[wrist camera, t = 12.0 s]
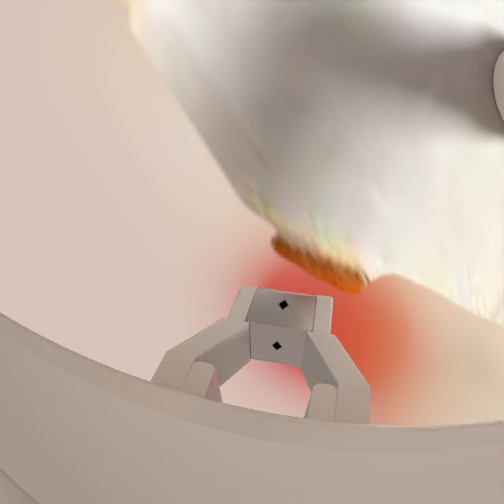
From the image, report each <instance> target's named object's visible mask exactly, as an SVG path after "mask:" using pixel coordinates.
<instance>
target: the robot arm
mask: <svg viewBox="0 0 504 504" xmlns="http://www.w3.org/2000/svg"><path fill="white" fill-rule="evenodd" d="M493 87H494V95H495V100H496V104H497V107H498V110H499V112H500V115H501V117H502V119H503V121H504V51H503V52H502V53H501V54H500V56H499V57H498V59H497V62H496V65H495V69H494V76H493ZM332 304H333V298H332V297H327V296H316V295H308V294H300V293H292V292H285V291H279V290H273V289H267V288H261V287H253V286H247V285H243V286H242V287H241V288H240V290H239V293H238V295H237V297H236V300H235V302H234V304H233V307H232V309H231V311H230V314H229V316H228V318H222V319H220V320H219V321H217V322H215V323H214V324H212V325H210V326H209V327H207V328H205V329H204V330H202V331H200V332H199V333H197V334H195V335H194V336H192V337H190V338H189V339H187V340H185V341H184V342H182V343H180V344H179V345H177V346H175V347H174V348H172V349H171V350H169V351H167V352H166V354H165V356H164V358H163V360H162V361H161V363H160V365H159V367H158V368H157V370H156V372H155V374H154V376H153V377H152V379H151V381H150V382H149V381H146V380H143V379H140V378H138V377H135V376H132V375H129V374H127V373H124V372H121V371H119V370H116V369H114V368H111V367H109V366H106V365H104V364H101V363H99V362H97V361H94V360H92V359H89V358H87V357H85V356H82V355H80V354H78V353H76V352H74V351H72V350H69V349H67V348H65V347H63V346H61V345H59V344H57V343H55V342H53V341H51V340H49V339H47V338H45V337H43V336H41V335H39V334H37V333H35V332H33V331H32V330H30V329H28V328H26V327H24V326H23V325H21V324H19V323H17V322H16V321H14V320H12V319H10V318H9V317H7V316H5V315H4V314H2V313H0V504H504V418H500V419H493V420H486V421H478V422H468V423H456V424H440V425H372V424H369V422H370V395H371V387H370V386H369V385H368V383H367V382H366V380H365V379H364V377H363V376H362V374H361V373H360V371H359V370H358V368H357V367H356V365H355V364H354V362H353V361H352V359H351V358H350V356H349V355H348V354H347V352H346V351H345V349H344V348H343V346H342V345H341V343H340V342H339V341H338V339H337V337H336V336H335V335H332V334H330V332H331V319H332ZM250 359H255V360H261V361H268V362H275V363H281V364H286V365H292V366H297V367H301V370H302V372H303V375H304V377H305V379H306V381H307V384H308V386H309V388H310V390H311V397H310V400H309V403H308V406H307V409H306V413H305V416H304V418H299V417H292V416H286V415H280V414H273V413H269V412H263V411H258V410H253V409H248V408H243V407H239V406H234V405H230V404H226V403H222V398H221V393H220V389H219V387H220V386H221V385H222V384H223V383H225V382H226V381H227V380H228V379H229V378H231V377H232V376H233V375H234V374H235V373H236V372H238V371H239V370H240V369H241V368H242V367H243V366H244V365H246V364H247V363H248V362H249V361H250Z"/></svg>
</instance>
